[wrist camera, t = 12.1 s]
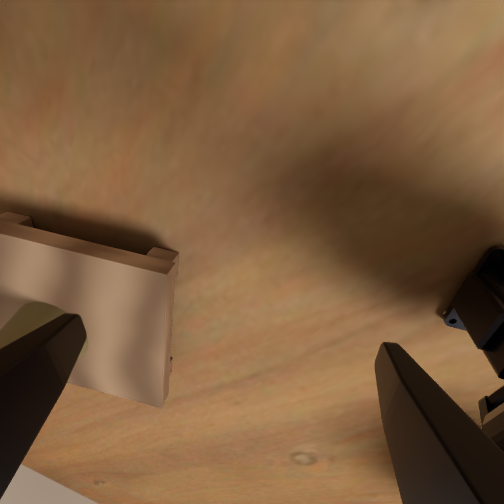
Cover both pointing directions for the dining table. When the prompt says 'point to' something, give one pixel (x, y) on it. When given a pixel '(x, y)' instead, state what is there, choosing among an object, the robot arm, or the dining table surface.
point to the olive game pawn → (30, 322)
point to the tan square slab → (97, 304)
